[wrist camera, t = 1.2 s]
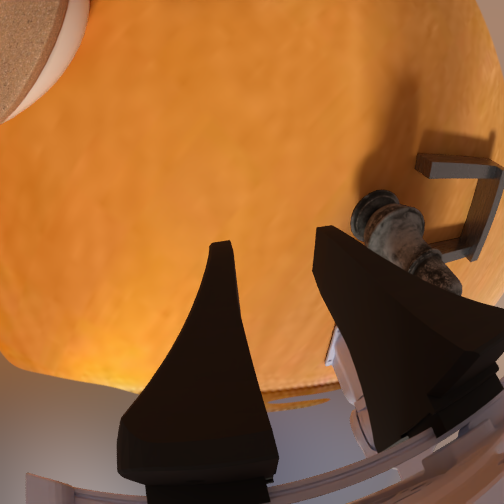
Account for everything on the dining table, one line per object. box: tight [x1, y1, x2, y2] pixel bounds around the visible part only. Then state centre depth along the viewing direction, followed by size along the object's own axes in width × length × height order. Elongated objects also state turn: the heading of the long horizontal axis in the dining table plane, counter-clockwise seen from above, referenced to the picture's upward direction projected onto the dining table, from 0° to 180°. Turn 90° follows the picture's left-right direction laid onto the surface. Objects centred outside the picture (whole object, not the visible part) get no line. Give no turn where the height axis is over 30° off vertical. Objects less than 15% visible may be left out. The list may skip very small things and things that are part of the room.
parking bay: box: [415, 153, 504, 263], centre depth 23 cm, size 12×12×3 cm
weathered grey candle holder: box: [350, 190, 462, 296], centre depth 19 cm, size 6×6×12 cm
